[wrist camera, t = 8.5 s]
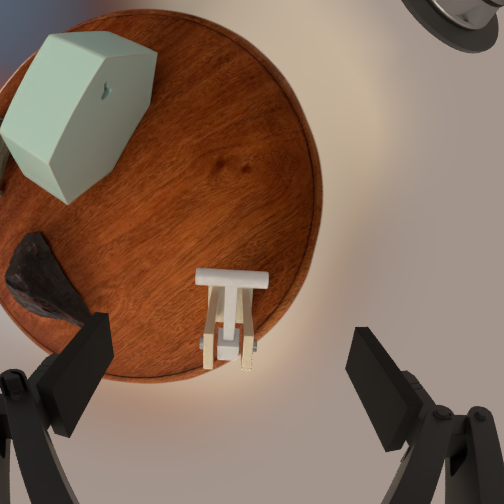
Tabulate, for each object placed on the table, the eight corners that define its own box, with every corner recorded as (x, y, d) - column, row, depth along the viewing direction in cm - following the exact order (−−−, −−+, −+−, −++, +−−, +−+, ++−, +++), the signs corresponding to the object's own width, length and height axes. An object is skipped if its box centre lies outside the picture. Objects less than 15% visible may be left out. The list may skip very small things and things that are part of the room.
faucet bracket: (209, 278, 44) (198, 326, 31) (253, 281, 44) (259, 329, 31) (208, 317, 46) (198, 374, 32) (249, 320, 46) (255, 377, 33)
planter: (108, 106, 41) (108, -6, 22) (148, 128, 42) (165, 14, 24) (35, 193, 35) (-20, 95, 16) (76, 221, 36) (32, 127, 17)
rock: (39, 224, 41) (4, 237, 32) (102, 319, 45) (79, 349, 36) (14, 248, 41) (-20, 265, 33) (74, 337, 46) (50, 367, 37)
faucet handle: (197, 260, 27) (194, 280, 25) (268, 264, 28) (269, 284, 26) (201, 340, 35) (199, 358, 33) (255, 343, 35) (255, 361, 34)
